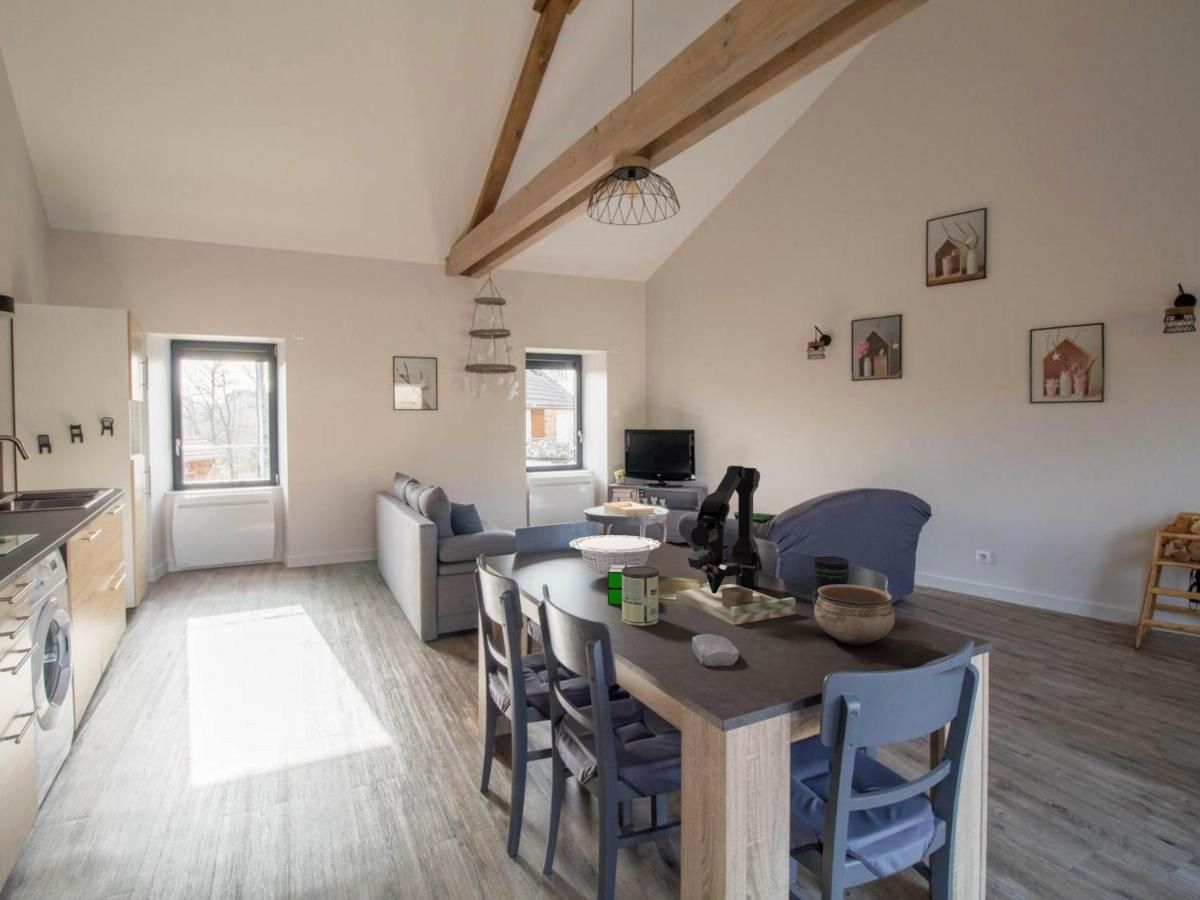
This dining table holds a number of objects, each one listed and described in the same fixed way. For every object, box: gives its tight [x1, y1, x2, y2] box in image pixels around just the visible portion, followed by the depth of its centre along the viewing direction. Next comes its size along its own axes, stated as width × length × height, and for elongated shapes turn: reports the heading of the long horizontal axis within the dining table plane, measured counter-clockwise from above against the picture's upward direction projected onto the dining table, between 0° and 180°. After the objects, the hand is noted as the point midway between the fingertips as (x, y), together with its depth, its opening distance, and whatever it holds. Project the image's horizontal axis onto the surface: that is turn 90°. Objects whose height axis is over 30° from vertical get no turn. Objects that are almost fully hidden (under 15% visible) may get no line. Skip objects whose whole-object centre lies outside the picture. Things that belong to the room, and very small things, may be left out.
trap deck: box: [675, 583, 797, 626], centre depth 199 cm, size 22×28×4 cm
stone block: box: [691, 633, 740, 667], centre depth 157 cm, size 12×5×10 cm
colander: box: [568, 534, 662, 577], centre depth 232 cm, size 32×32×13 cm
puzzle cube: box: [607, 564, 638, 606], centre depth 205 cm, size 10×10×10 cm
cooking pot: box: [813, 584, 896, 646], centre depth 168 cm, size 25×19×12 cm
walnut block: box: [722, 586, 754, 609], centre depth 189 cm, size 6×6×5 cm
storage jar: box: [812, 555, 850, 612], centre depth 195 cm, size 10×10×15 cm
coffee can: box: [621, 565, 660, 627], centre depth 185 cm, size 10×10×14 cm
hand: (714, 593), depth 200 cm, fingers closed
